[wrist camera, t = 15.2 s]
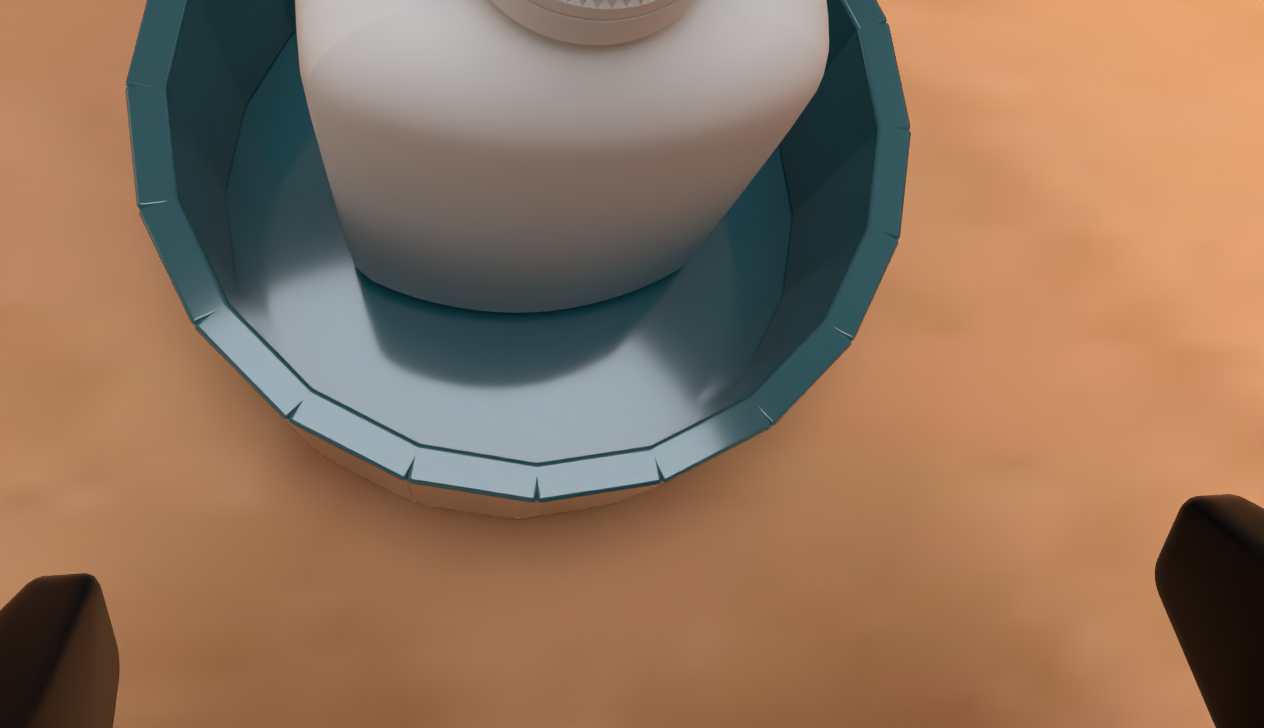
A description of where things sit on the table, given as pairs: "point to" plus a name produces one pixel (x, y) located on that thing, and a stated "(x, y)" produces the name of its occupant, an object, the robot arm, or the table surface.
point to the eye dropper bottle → (547, 135)
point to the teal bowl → (498, 341)
